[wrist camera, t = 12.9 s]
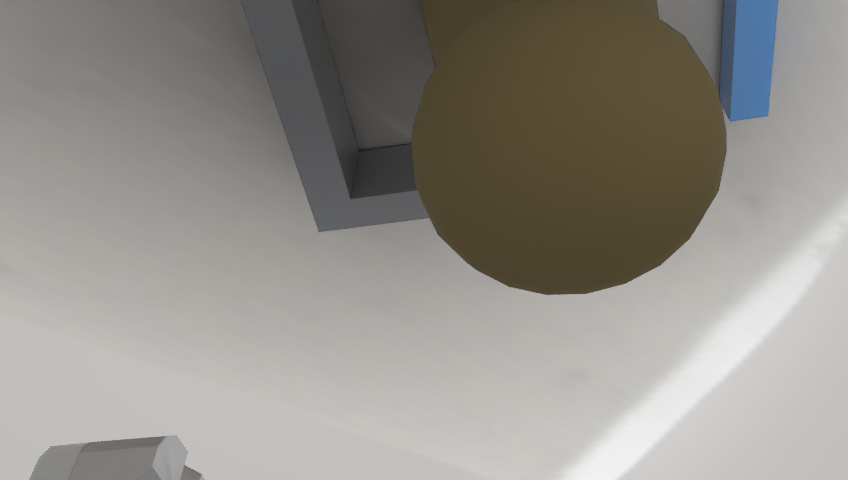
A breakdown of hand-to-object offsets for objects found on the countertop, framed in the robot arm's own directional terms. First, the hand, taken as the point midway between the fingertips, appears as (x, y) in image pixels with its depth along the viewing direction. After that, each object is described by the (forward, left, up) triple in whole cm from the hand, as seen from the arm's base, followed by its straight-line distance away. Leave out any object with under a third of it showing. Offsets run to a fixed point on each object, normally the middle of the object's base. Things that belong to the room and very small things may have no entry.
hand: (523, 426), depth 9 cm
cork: (+1, 0, -15) cm, 15 cm away
